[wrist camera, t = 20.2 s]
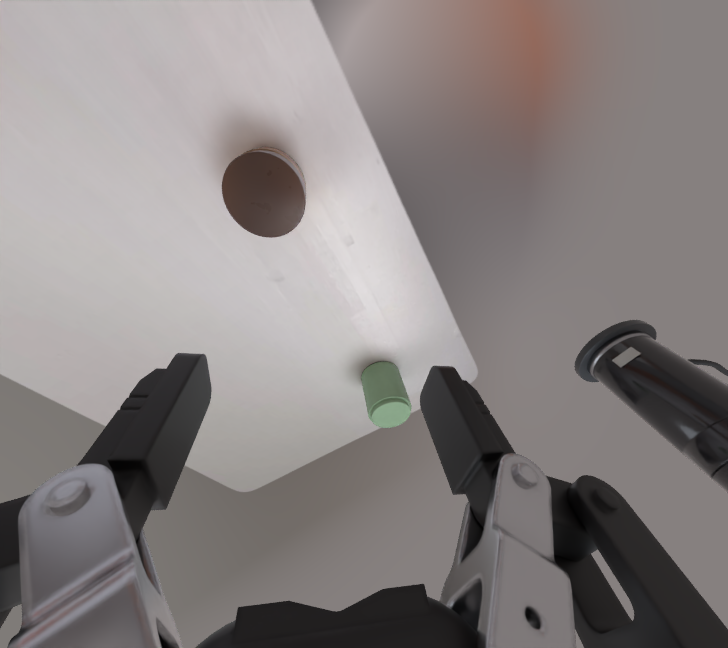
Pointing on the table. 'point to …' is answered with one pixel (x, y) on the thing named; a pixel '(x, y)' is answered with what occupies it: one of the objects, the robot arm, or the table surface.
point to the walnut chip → (264, 193)
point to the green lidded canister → (385, 395)
